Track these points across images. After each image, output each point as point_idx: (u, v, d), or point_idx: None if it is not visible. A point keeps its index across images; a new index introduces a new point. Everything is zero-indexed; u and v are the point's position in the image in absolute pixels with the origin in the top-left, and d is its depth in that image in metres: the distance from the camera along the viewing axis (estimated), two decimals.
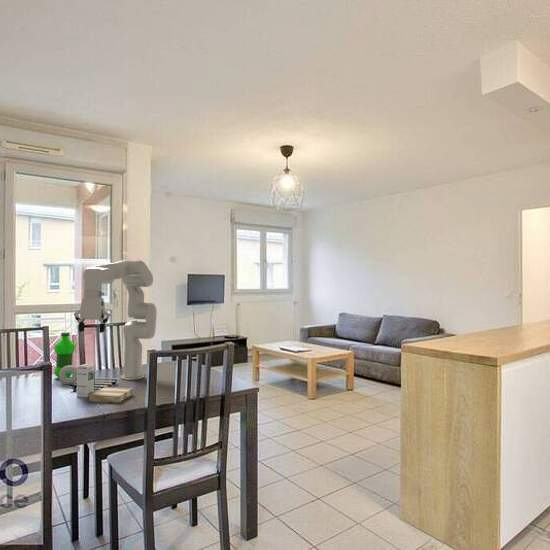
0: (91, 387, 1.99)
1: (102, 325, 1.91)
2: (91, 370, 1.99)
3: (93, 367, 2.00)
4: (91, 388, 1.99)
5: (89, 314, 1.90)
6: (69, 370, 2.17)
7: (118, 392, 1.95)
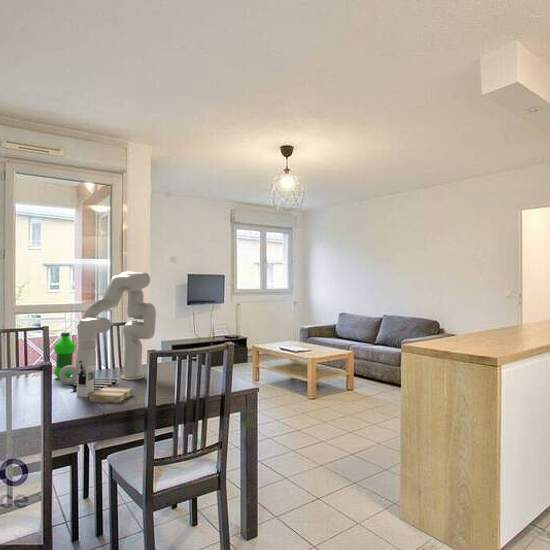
0: (91, 387, 1.99)
1: None
2: (91, 370, 1.99)
3: (93, 367, 2.00)
4: (91, 388, 1.99)
5: (91, 363, 1.99)
6: (69, 370, 2.17)
7: (118, 392, 1.95)
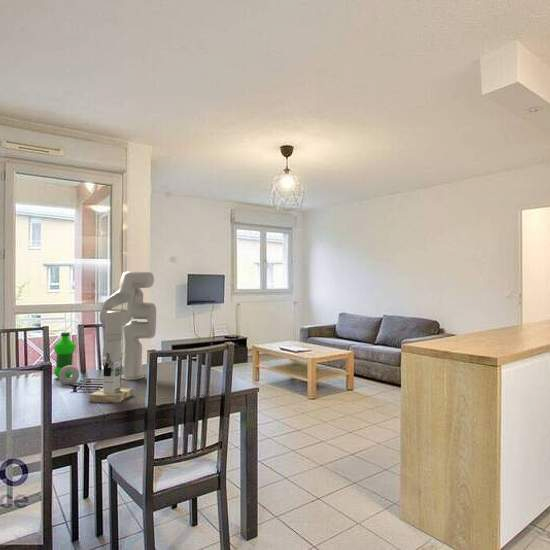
0: (117, 383, 1.95)
1: None
2: (117, 366, 1.95)
3: (119, 363, 1.97)
4: (118, 384, 1.96)
5: (117, 356, 1.96)
6: (69, 370, 2.17)
7: (118, 392, 1.95)
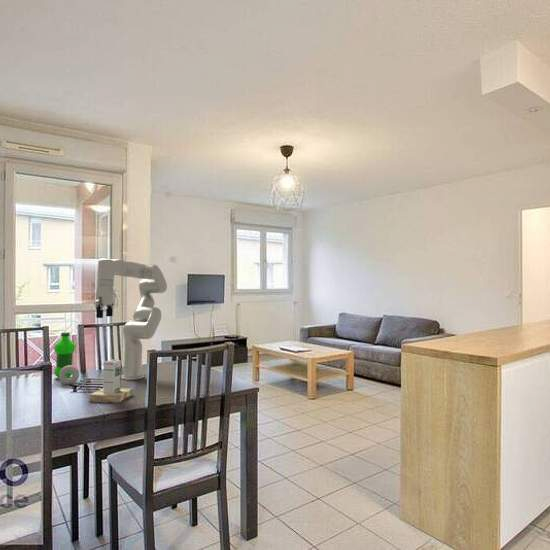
0: (117, 383, 1.95)
1: None
2: (117, 366, 1.95)
3: (119, 363, 1.97)
4: (118, 384, 1.96)
5: (109, 300, 2.11)
6: (69, 370, 2.17)
7: (118, 392, 1.95)
